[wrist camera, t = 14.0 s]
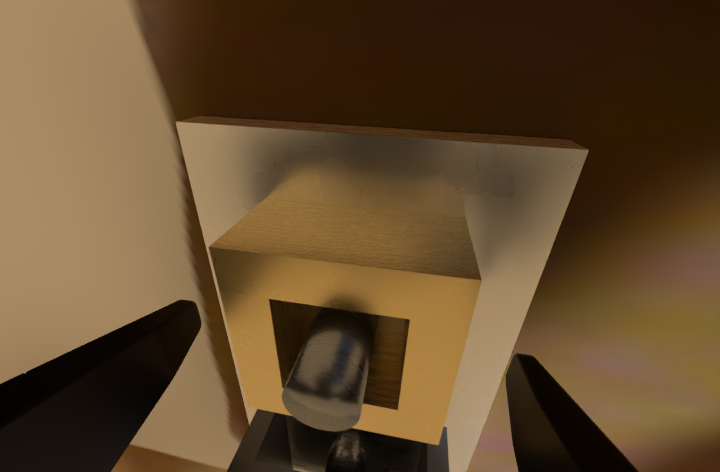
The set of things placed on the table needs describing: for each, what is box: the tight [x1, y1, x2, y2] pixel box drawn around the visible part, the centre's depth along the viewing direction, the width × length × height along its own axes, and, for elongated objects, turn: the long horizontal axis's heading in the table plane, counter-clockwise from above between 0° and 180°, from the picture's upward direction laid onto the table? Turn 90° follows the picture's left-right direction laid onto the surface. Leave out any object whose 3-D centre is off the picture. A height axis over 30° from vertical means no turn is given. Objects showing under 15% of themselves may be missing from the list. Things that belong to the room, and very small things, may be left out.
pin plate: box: [176, 116, 589, 472], centre depth 13 cm, size 11×26×6 cm, turn 179°
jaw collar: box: [209, 198, 482, 445], centre depth 10 cm, size 6×6×3 cm
